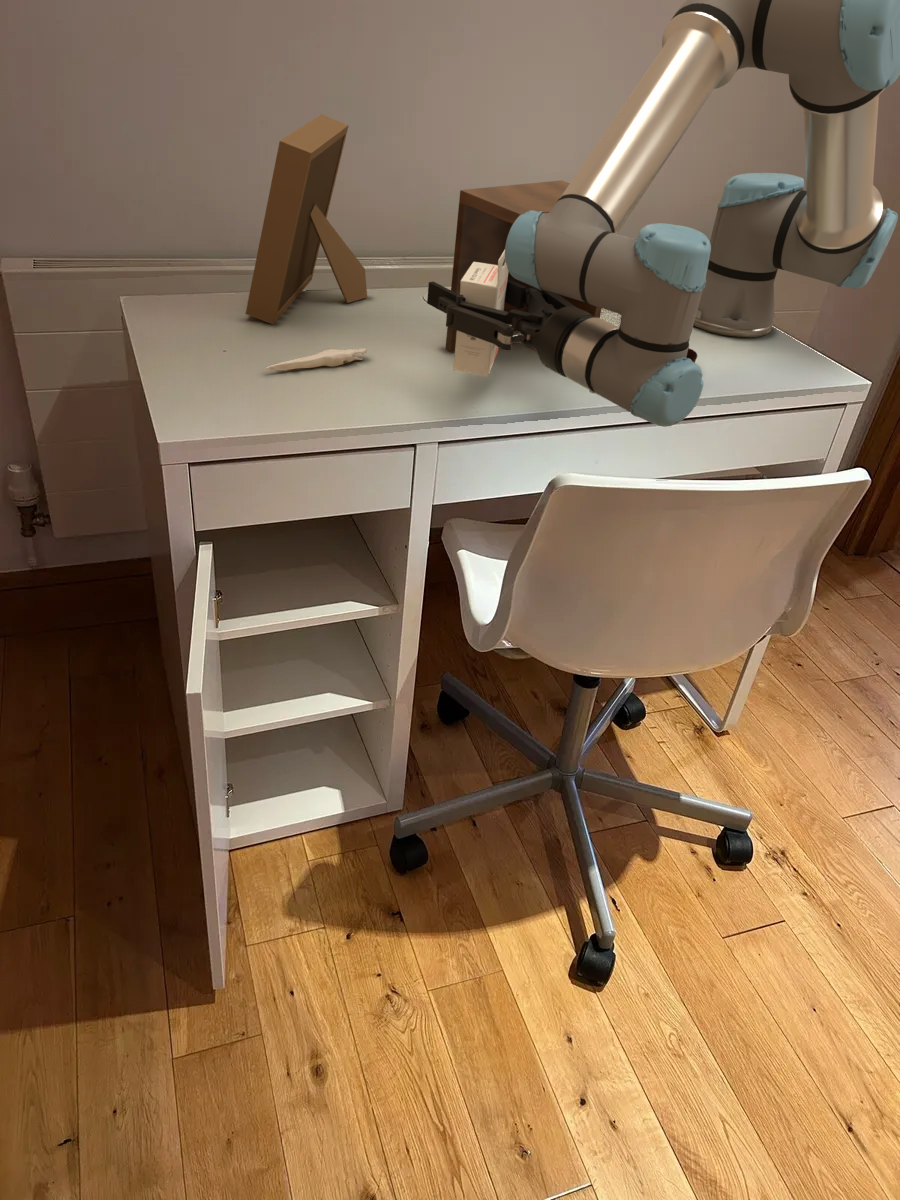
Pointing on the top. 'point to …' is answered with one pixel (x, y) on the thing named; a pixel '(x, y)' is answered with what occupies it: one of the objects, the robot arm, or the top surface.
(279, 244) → the photo frame
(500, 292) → the ink cartridge box
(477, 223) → the shelf
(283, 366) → the beige tapered rod
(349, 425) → the top surface
